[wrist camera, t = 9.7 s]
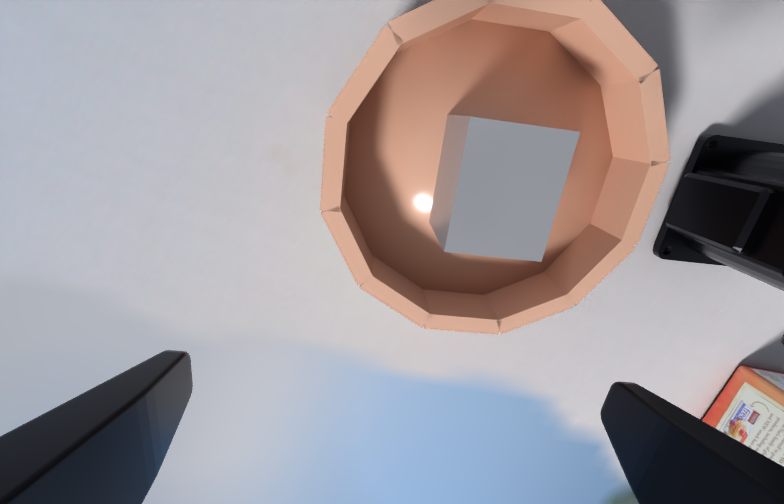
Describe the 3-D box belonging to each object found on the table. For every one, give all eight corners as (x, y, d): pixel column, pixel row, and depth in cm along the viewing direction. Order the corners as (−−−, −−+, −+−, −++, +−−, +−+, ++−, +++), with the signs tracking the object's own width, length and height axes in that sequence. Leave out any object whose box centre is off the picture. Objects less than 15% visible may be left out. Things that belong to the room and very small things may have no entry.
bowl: (656, 34, 16) (727, 16, 13) (564, 306, 21) (598, 342, 18) (343, -20, 15) (336, -55, 12) (322, 285, 20) (313, 319, 17)
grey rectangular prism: (533, 126, 17) (580, 131, 13) (507, 230, 18) (541, 261, 15) (447, 114, 16) (470, 116, 13) (429, 222, 18) (444, 252, 14)
